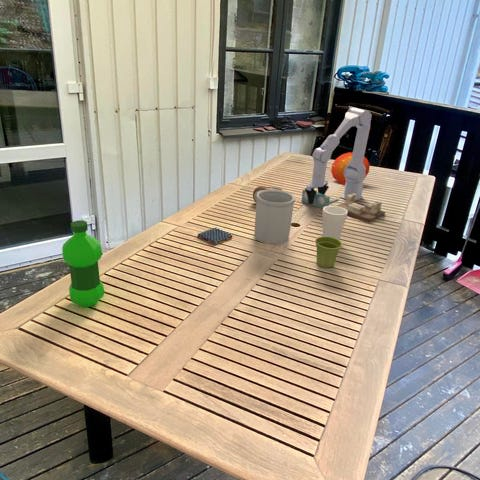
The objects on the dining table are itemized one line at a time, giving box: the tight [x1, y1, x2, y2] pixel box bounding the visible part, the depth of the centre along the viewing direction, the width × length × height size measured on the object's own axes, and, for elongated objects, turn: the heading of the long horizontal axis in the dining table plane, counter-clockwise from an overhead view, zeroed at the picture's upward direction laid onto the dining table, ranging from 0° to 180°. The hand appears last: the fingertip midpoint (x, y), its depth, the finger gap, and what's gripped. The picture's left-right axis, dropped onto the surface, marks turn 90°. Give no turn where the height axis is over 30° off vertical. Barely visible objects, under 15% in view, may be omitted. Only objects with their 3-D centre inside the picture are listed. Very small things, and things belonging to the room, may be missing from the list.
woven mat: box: [196, 226, 233, 246], centre depth 172 cm, size 10×11×2 cm
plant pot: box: [314, 236, 343, 269], centre depth 156 cm, size 9×9×9 cm
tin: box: [252, 185, 284, 203], centre depth 206 cm, size 15×3×8 cm, turn 84°
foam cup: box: [322, 205, 348, 241], centre depth 173 cm, size 10×9×13 cm
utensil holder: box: [254, 189, 296, 245], centre depth 172 cm, size 15×15×18 cm
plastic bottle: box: [61, 220, 105, 308], centre depth 123 cm, size 10×10×25 cm
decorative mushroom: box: [330, 151, 370, 185], centre depth 244 cm, size 15×21×15 cm
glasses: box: [301, 188, 339, 210], centre depth 212 cm, size 10×14×6 cm
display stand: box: [336, 193, 386, 223], centre depth 203 cm, size 14×19×6 cm
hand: (315, 201), depth 211 cm, fingers open, 7 cm apart
